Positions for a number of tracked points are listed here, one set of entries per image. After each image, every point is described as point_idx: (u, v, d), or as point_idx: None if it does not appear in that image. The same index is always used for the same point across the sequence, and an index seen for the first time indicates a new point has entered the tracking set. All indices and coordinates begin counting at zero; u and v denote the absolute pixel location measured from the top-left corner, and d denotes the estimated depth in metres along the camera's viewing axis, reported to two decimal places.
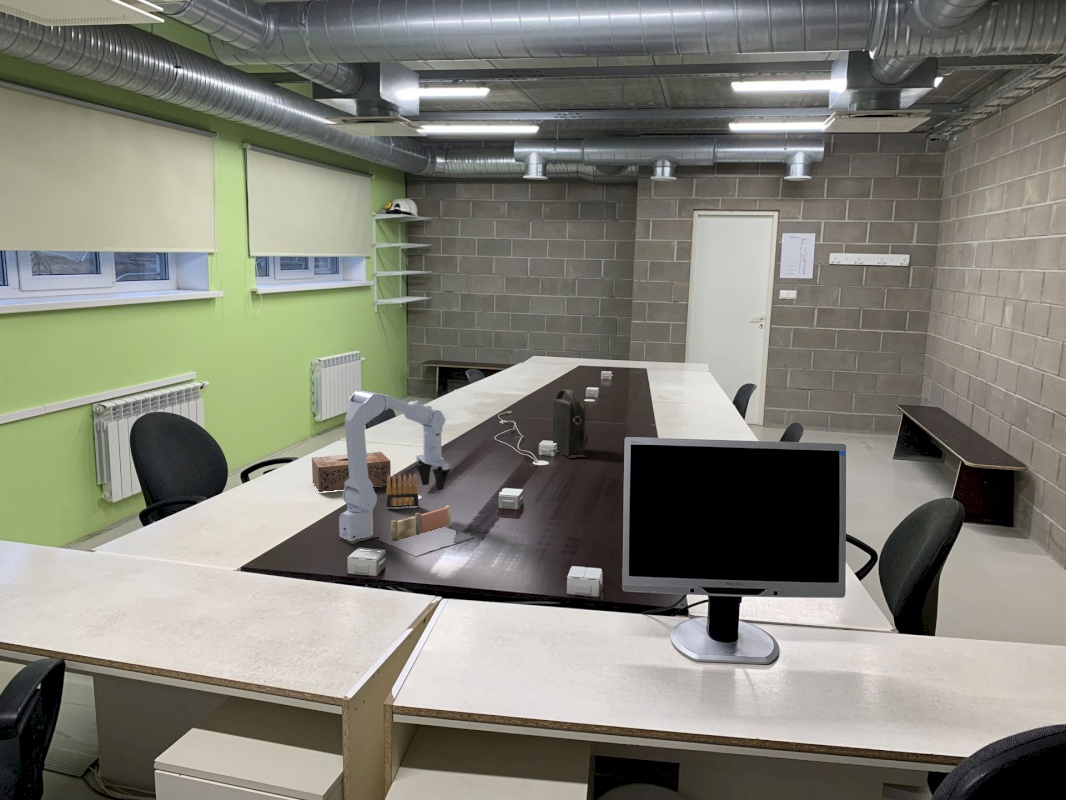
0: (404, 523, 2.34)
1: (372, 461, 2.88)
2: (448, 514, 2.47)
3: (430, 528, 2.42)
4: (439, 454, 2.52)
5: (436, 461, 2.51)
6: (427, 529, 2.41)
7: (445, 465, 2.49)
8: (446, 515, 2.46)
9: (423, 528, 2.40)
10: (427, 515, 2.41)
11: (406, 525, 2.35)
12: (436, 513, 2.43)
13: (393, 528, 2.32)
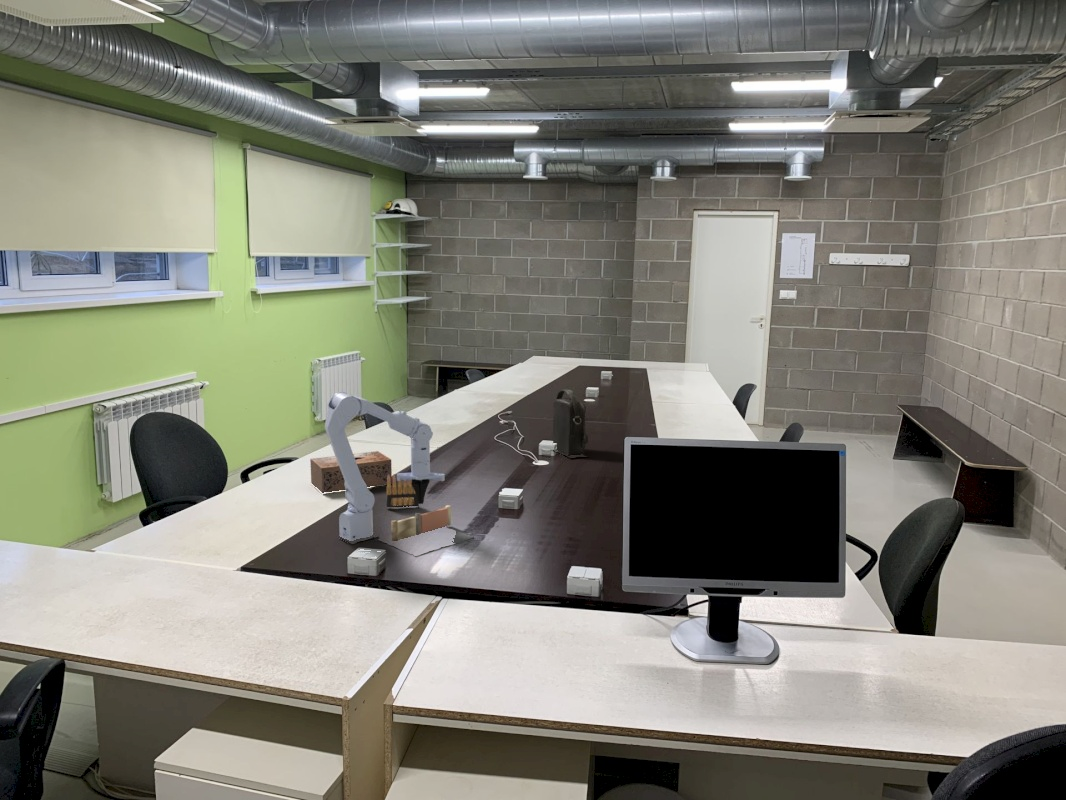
0: (404, 523, 2.34)
1: (373, 460, 2.89)
2: (448, 514, 2.47)
3: (430, 528, 2.42)
4: (411, 468, 2.43)
5: None
6: (427, 529, 2.41)
7: (397, 475, 2.45)
8: (446, 515, 2.46)
9: (423, 528, 2.40)
10: (427, 515, 2.41)
11: (406, 525, 2.35)
12: (436, 513, 2.43)
13: (393, 528, 2.32)
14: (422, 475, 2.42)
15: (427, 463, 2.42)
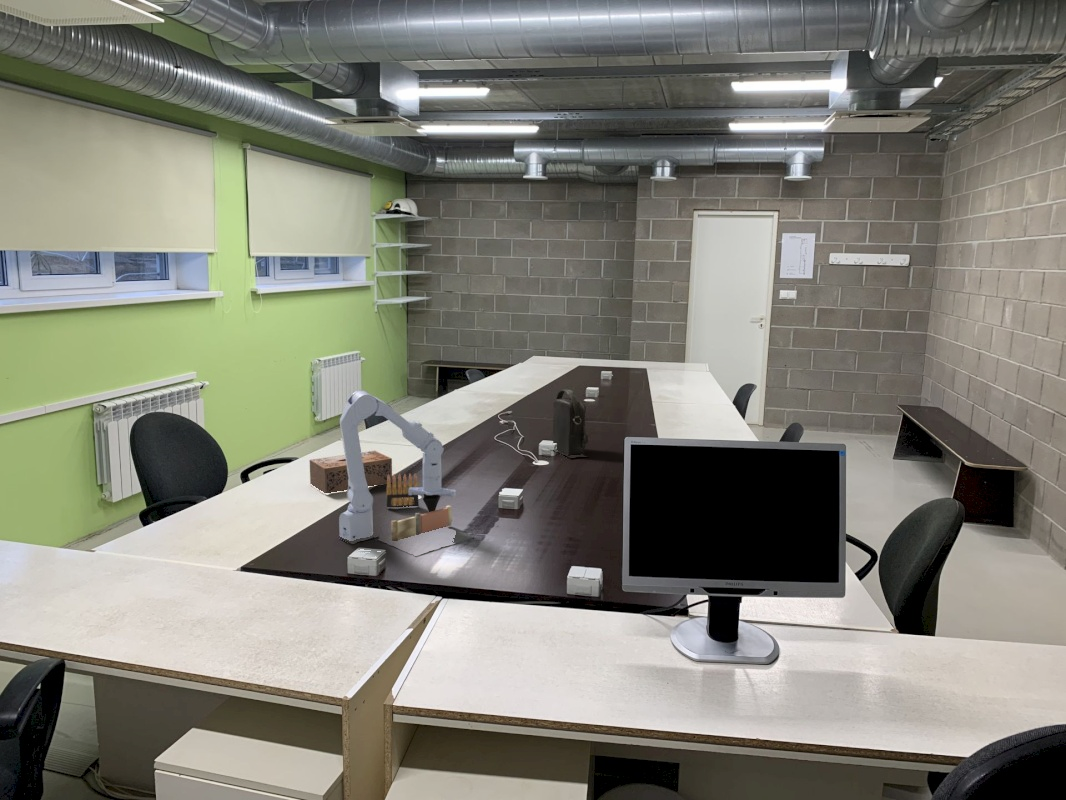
0: (404, 523, 2.34)
1: (374, 460, 2.89)
2: (448, 514, 2.46)
3: (431, 528, 2.42)
4: None
5: None
6: (427, 529, 2.41)
7: None
8: (446, 515, 2.46)
9: (423, 528, 2.40)
10: (427, 515, 2.40)
11: (406, 525, 2.35)
12: (437, 513, 2.43)
13: (393, 528, 2.32)
14: (432, 490, 2.41)
15: (438, 479, 2.42)
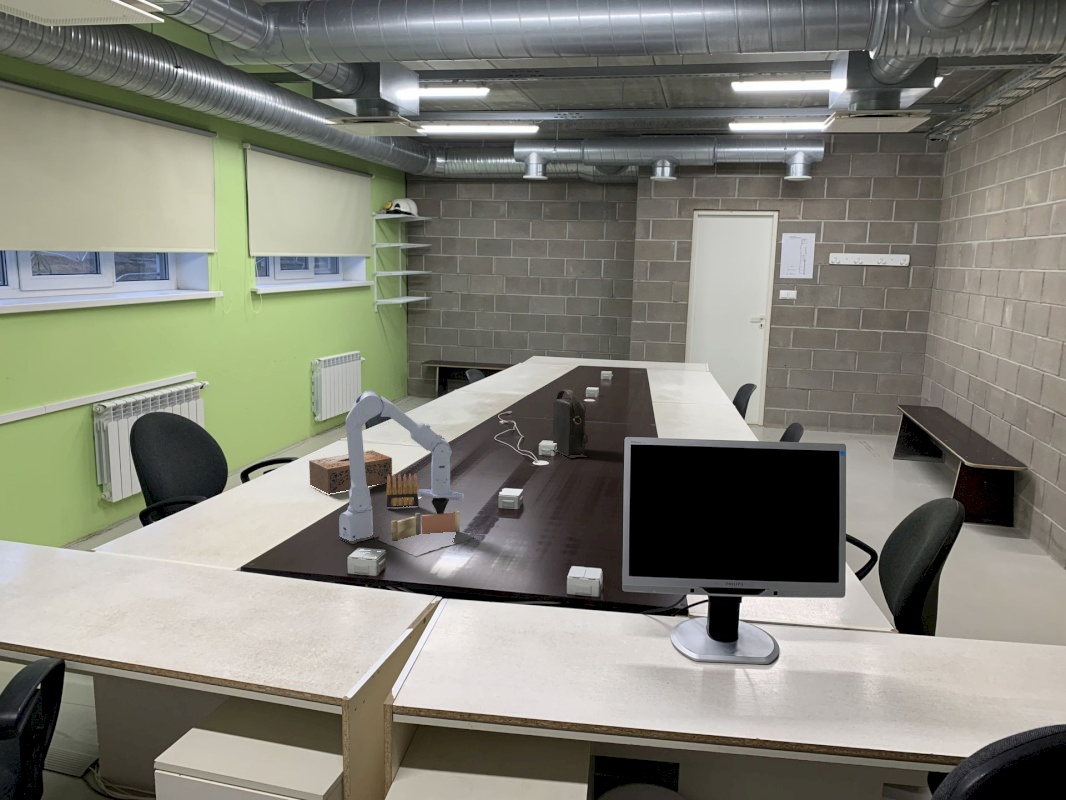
0: (404, 523, 2.34)
1: (375, 459, 2.90)
2: (455, 520, 2.41)
3: (433, 531, 2.40)
4: None
5: None
6: (428, 531, 2.40)
7: None
8: (453, 520, 2.41)
9: (423, 529, 2.39)
10: (428, 517, 2.39)
11: (406, 525, 2.35)
12: (440, 516, 2.40)
13: (393, 528, 2.32)
14: (440, 493, 2.39)
15: (446, 481, 2.39)
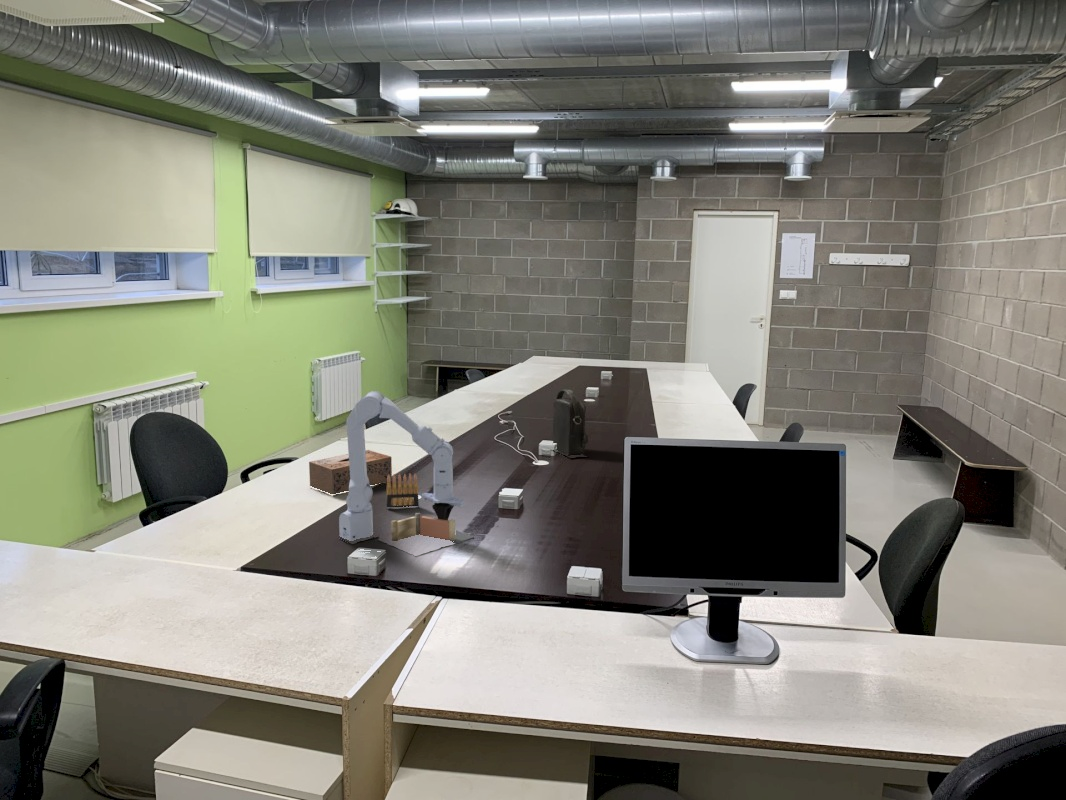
0: (404, 523, 2.34)
1: (375, 459, 2.91)
2: (449, 528, 2.34)
3: (429, 534, 2.37)
4: None
5: None
6: (426, 533, 2.38)
7: None
8: (447, 528, 2.34)
9: (421, 530, 2.38)
10: (425, 519, 2.37)
11: (406, 525, 2.35)
12: (436, 521, 2.35)
13: (393, 528, 2.32)
14: (440, 498, 2.34)
15: (446, 487, 2.33)
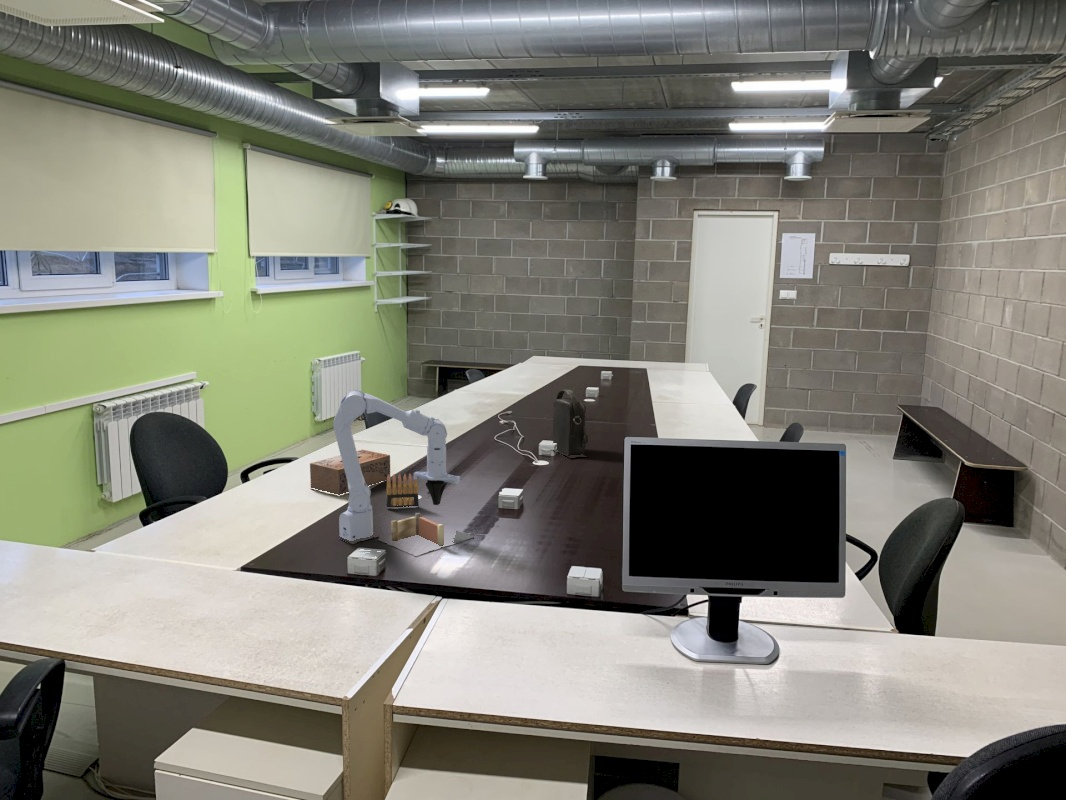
0: (404, 523, 2.34)
1: (375, 458, 2.92)
2: (437, 532, 2.30)
3: (424, 535, 2.36)
4: None
5: None
6: (422, 534, 2.37)
7: None
8: (436, 532, 2.31)
9: (419, 531, 2.38)
10: (422, 520, 2.36)
11: (406, 525, 2.35)
12: (429, 524, 2.33)
13: (393, 528, 2.32)
14: (435, 476, 2.36)
15: (441, 464, 2.36)
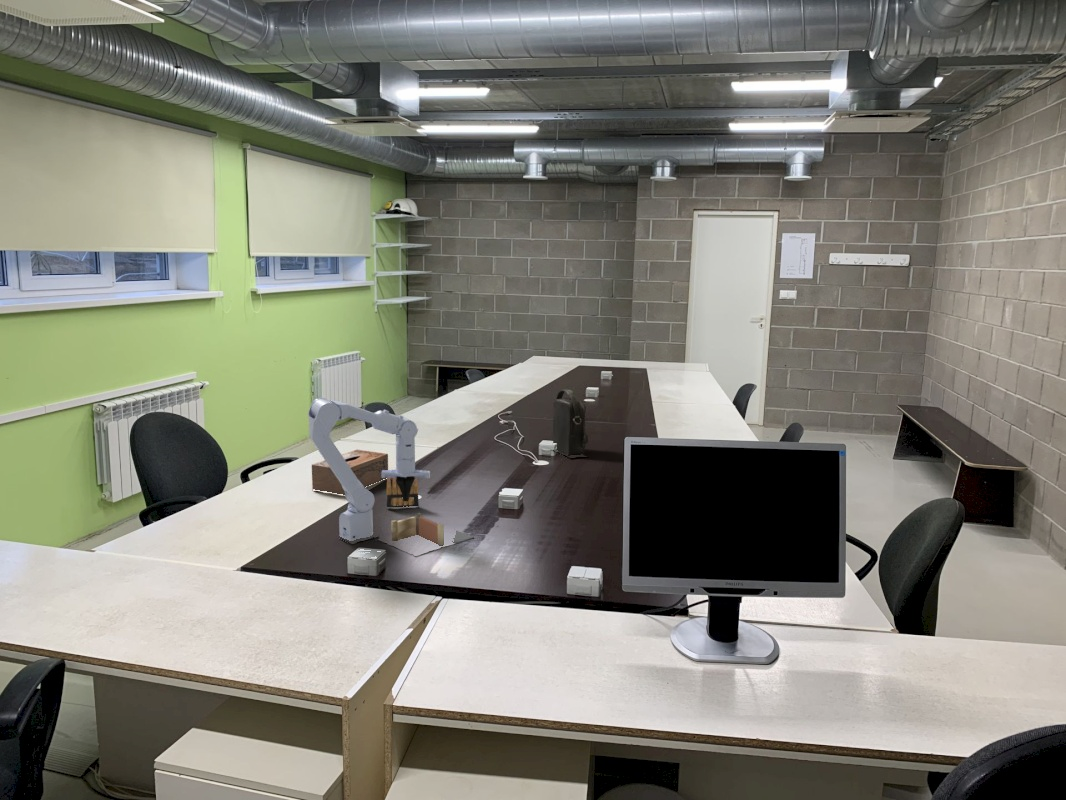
0: (404, 523, 2.34)
1: (375, 457, 2.94)
2: (437, 532, 2.30)
3: (424, 535, 2.36)
4: (396, 465, 2.41)
5: None
6: (422, 534, 2.37)
7: (382, 472, 2.42)
8: (436, 532, 2.31)
9: (419, 531, 2.38)
10: (422, 520, 2.36)
11: (406, 525, 2.35)
12: (429, 524, 2.33)
13: (393, 528, 2.32)
14: (407, 472, 2.39)
15: (412, 460, 2.40)
